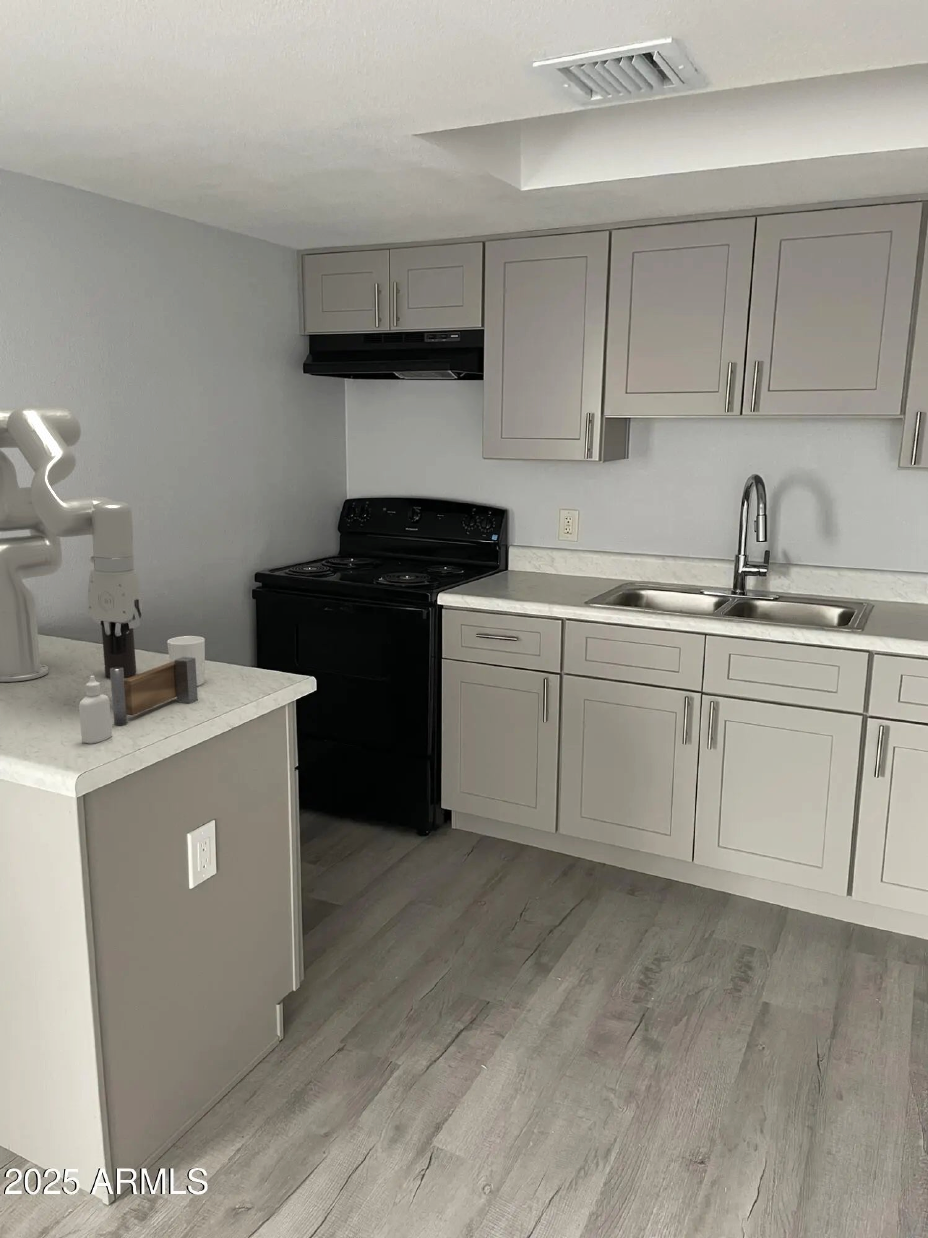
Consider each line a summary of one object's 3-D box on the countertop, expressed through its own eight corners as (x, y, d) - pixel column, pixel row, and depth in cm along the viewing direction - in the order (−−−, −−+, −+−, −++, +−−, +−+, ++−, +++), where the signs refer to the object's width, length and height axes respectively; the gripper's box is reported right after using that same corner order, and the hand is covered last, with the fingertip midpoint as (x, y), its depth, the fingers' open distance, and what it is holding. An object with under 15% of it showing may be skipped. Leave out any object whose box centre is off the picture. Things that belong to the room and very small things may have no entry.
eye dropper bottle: (78, 739, 177) (73, 676, 175) (109, 733, 180) (104, 671, 178) (84, 745, 174) (78, 681, 171) (116, 739, 177) (111, 676, 174)
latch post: (176, 702, 200) (174, 660, 198) (185, 698, 203) (183, 656, 201) (189, 703, 199) (186, 661, 197) (197, 699, 202) (195, 657, 200)
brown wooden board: (124, 714, 188) (122, 680, 187) (175, 693, 203) (173, 661, 202) (133, 715, 188) (130, 681, 186) (183, 694, 202) (181, 661, 201)
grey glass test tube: (111, 725, 185) (107, 669, 183) (119, 721, 187) (115, 666, 185) (121, 726, 184) (117, 670, 182) (130, 722, 187) (125, 667, 184)
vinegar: (99, 678, 219) (92, 591, 215) (114, 670, 225) (108, 586, 221) (127, 679, 218) (121, 592, 214) (142, 672, 224) (135, 587, 220)
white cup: (196, 689, 210) (194, 644, 208) (163, 687, 211) (160, 643, 209) (213, 680, 217) (210, 636, 215) (180, 678, 219) (178, 635, 217)
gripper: (70, 563, 191) (75, 652, 195) (133, 571, 186) (136, 662, 190) (96, 558, 198) (100, 644, 202) (157, 565, 193) (160, 653, 197)
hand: (118, 652), depth 196 cm, fingers closed
